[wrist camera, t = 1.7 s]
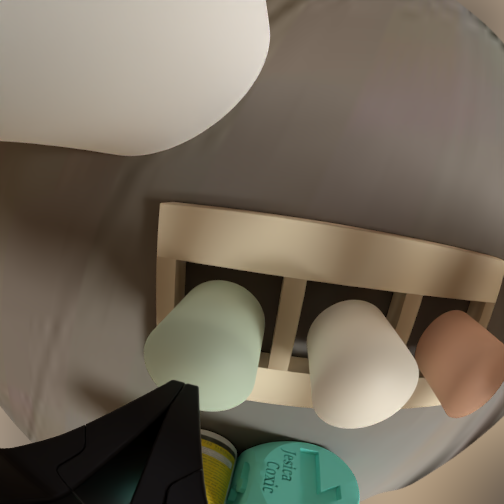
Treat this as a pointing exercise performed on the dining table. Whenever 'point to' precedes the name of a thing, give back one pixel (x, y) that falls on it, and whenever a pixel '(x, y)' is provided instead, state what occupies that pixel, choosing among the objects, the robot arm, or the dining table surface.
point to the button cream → (358, 366)
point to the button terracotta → (460, 362)
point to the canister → (125, 70)
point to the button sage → (210, 344)
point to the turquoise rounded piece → (291, 476)
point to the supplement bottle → (217, 466)
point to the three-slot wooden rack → (318, 278)
